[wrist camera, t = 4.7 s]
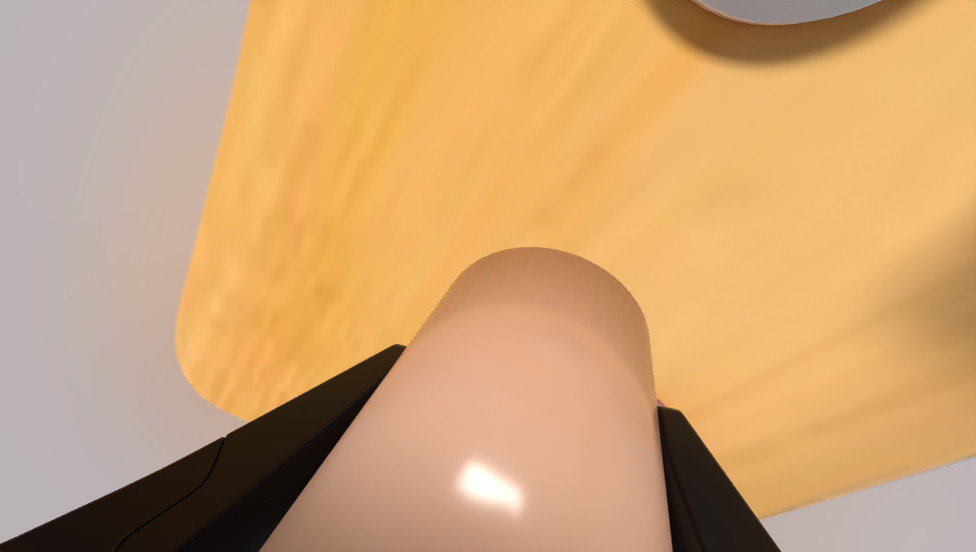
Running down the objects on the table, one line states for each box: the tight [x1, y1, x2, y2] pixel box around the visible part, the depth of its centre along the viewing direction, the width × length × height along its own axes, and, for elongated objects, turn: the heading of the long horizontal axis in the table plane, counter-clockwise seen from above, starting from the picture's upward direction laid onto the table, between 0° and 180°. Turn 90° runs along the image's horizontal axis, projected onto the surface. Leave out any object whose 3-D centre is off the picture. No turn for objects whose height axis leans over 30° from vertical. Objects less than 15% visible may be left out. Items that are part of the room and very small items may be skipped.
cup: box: [259, 247, 673, 552], centre depth 6 cm, size 5×5×7 cm
